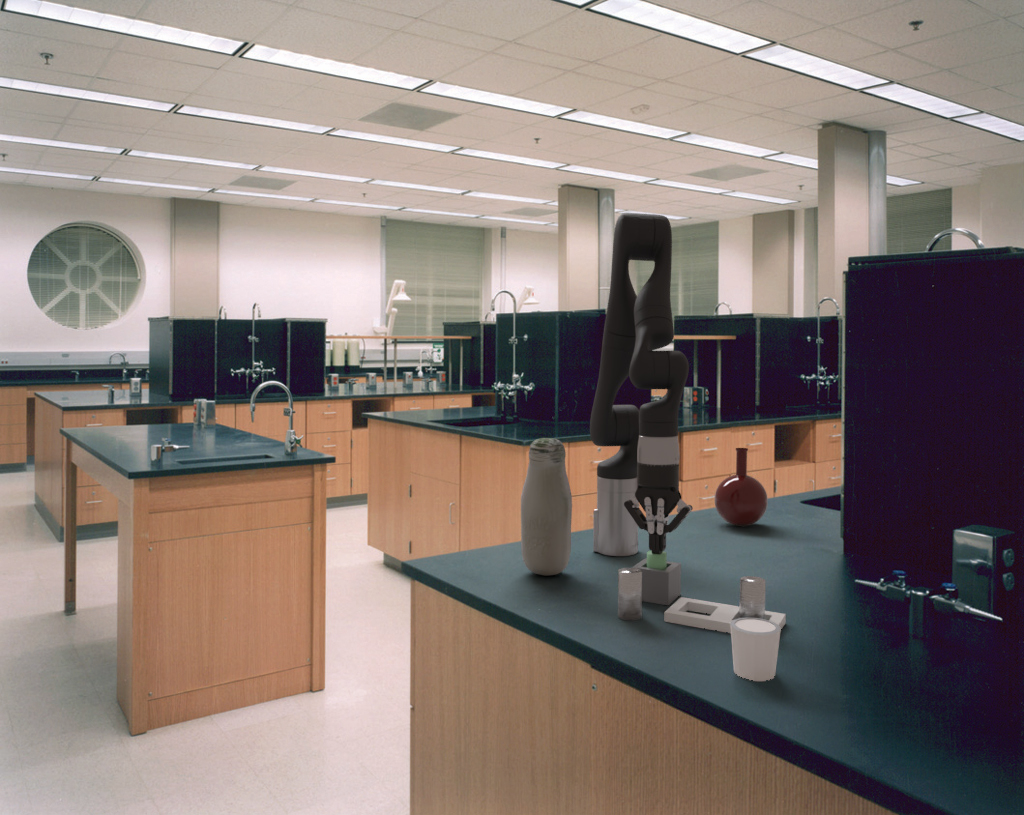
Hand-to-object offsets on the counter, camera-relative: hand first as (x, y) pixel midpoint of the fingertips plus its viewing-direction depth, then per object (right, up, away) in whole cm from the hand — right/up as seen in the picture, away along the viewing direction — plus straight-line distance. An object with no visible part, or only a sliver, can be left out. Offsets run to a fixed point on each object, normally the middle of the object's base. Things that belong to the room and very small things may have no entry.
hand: (657, 553), depth 143 cm
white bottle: (-20, -7, +16) cm, 26 cm away
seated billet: (+13, -10, -15) cm, 22 cm away
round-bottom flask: (+32, -4, +57) cm, 66 cm away
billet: (-7, -9, -9) cm, 15 cm away
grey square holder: (0, -8, +1) cm, 8 cm away
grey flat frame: (+9, -9, -12) cm, 18 cm away
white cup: (+8, -11, -32) cm, 35 cm away
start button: (0, -6, +1) cm, 6 cm away
